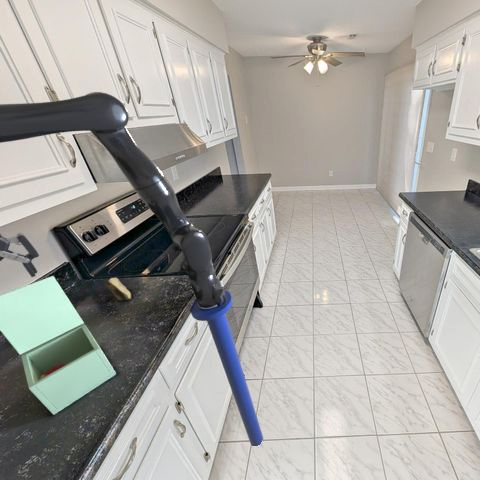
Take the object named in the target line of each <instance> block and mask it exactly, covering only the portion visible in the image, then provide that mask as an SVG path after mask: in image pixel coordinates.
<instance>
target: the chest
mask: <svg viewBox="0 0 480 480" xmlns="http://www.w3.org/2000/svg"><path fill="white" fill-rule="evenodd" d="M20 357H21V362H22V365H23V370H24V374H25V379H26V383H27V387H28V390H29V391H30V393H32V394H33V395H34V396H35V397H36V398H37V399H38V400H39V401H40V402H41V404H42V405H44V407H46V409H47V410H48V411H49V412H50V413H51V414H52V415H53V416H54V415H56V414H58V413H59V412H61V411H62V410H64V409H65V408H67V407H68V406H70V405H71V404H73V403H75V402H76V401H77V400H79V399H80V398H82V397H84V396H85V395H86V394H88V393H90V392H92V391H93V390H94V389H96V388H97V387H99V386H101V385H102V384H104V383H105V382H106V381H108V380H110V379H111V378H114V377H115V376H116V375H117V372H116V370H115V369H114V368H113V365H112V364H111V363H110V361H109V359H108V358H107V356H106V355H105V353H104V351H103V350H102V348H101V347H100V345H99V344H98V342H97V340H96V339H95V337H94V336H93V334H92V332H91V331H90V330H89V328H88V327H87V325H86V324H85V323H83V324H81V325H79V326H77V327H75V328H73V329H71V330H69V331H67V332H65V333H63V334H61V335H59V336H57V337H55V338H53V339H51V340H49V341H47V342H45V343H43V344H41V345H39V346H37V347H35V348H33V349H31V350H29V351H27V352H25V353H23V354H21V355H20ZM60 364H67V365H65V366H64V367H62V368H60V369H58V370H57V371H55V372H53V373H51V374H50V375H48V376H46V377H44V378H42V379H41V380H40V378H41V376H43V375H44V374H45V373H46V372H47V371H48V370H49V369H51V368H53V367H55V366H57V365H60Z"/></svg>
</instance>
